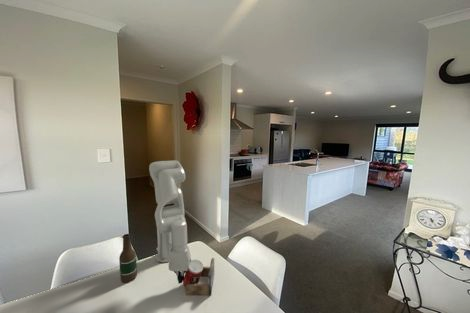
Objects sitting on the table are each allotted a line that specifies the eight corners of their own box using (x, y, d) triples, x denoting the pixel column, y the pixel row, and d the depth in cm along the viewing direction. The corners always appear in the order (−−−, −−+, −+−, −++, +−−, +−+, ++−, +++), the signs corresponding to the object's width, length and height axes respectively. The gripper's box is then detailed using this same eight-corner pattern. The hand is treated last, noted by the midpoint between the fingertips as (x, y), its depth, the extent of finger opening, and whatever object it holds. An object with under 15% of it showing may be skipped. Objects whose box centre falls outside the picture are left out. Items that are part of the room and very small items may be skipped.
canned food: (183, 291, 92) (189, 273, 90) (181, 276, 99) (187, 259, 97) (198, 290, 95) (204, 272, 93) (196, 275, 103) (201, 259, 100)
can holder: (185, 295, 91) (185, 275, 90) (192, 275, 105) (191, 257, 104) (211, 295, 91) (211, 275, 90) (214, 275, 105) (214, 257, 104)
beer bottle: (117, 281, 101) (114, 237, 98) (130, 271, 108) (127, 230, 106) (127, 285, 98) (125, 240, 95) (140, 275, 105) (138, 232, 103)
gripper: (161, 250, 92) (163, 286, 93) (192, 250, 91) (193, 287, 92) (167, 242, 99) (169, 275, 101) (196, 242, 98) (197, 276, 100)
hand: (180, 281), depth 97 cm, fingers closed
